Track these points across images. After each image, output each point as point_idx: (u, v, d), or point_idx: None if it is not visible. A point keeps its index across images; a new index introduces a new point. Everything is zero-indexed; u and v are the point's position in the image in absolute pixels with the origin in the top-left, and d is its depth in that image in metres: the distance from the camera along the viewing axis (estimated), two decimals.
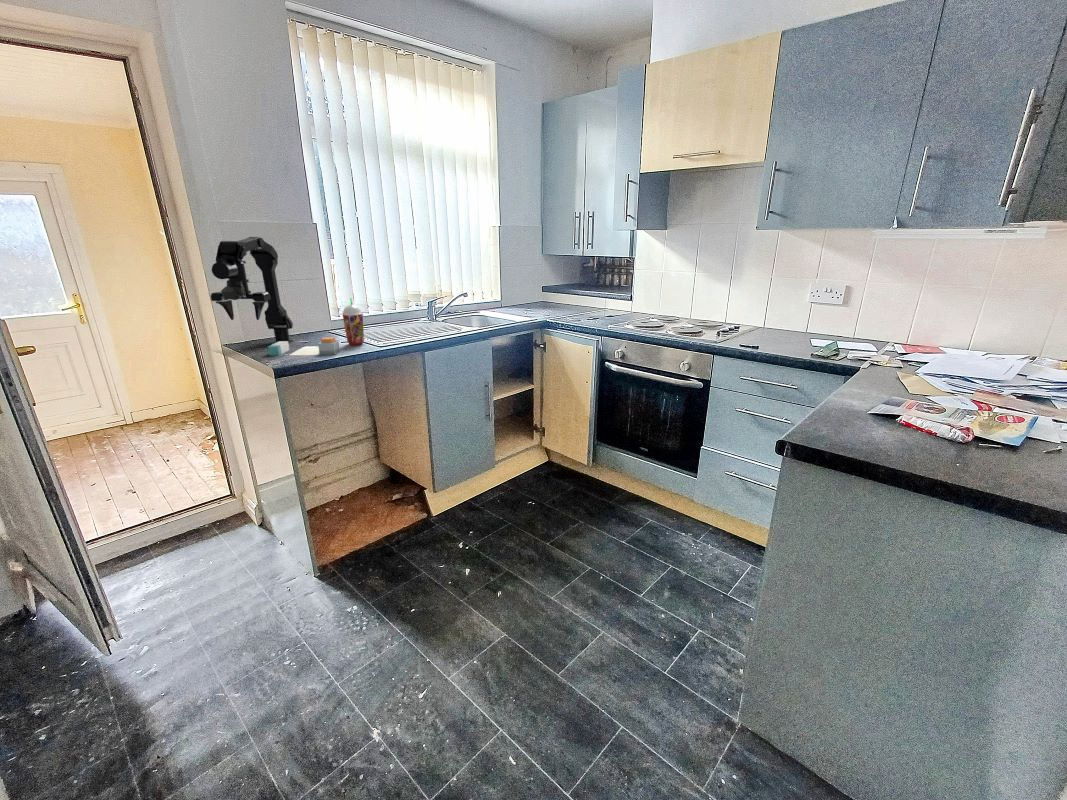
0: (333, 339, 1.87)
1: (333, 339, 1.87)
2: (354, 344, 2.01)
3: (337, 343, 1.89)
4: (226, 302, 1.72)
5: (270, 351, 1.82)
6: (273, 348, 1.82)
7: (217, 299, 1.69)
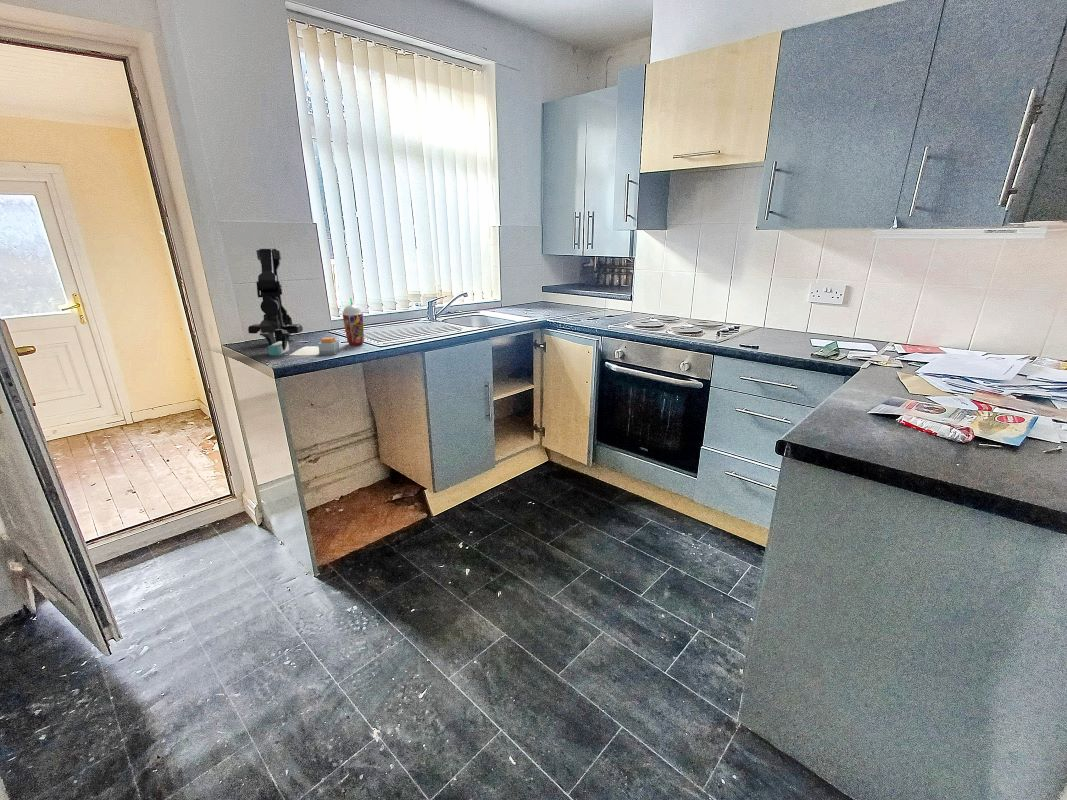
0: (333, 339, 1.87)
1: (333, 339, 1.87)
2: (354, 344, 2.01)
3: (337, 343, 1.89)
4: (269, 334, 1.84)
5: (270, 351, 1.82)
6: (273, 348, 1.82)
7: (254, 332, 1.81)
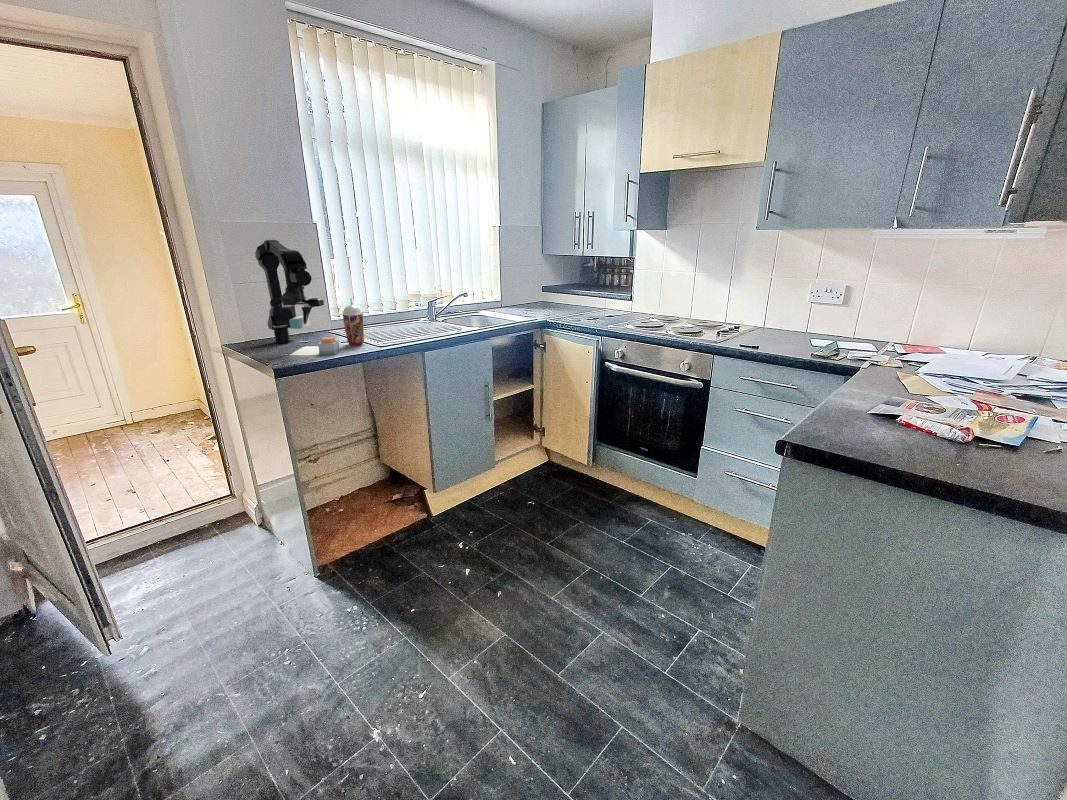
0: (333, 339, 1.87)
1: (333, 339, 1.87)
2: (354, 344, 2.01)
3: (337, 343, 1.89)
4: (290, 307, 1.84)
5: (291, 324, 1.82)
6: (294, 321, 1.81)
7: (276, 305, 1.81)
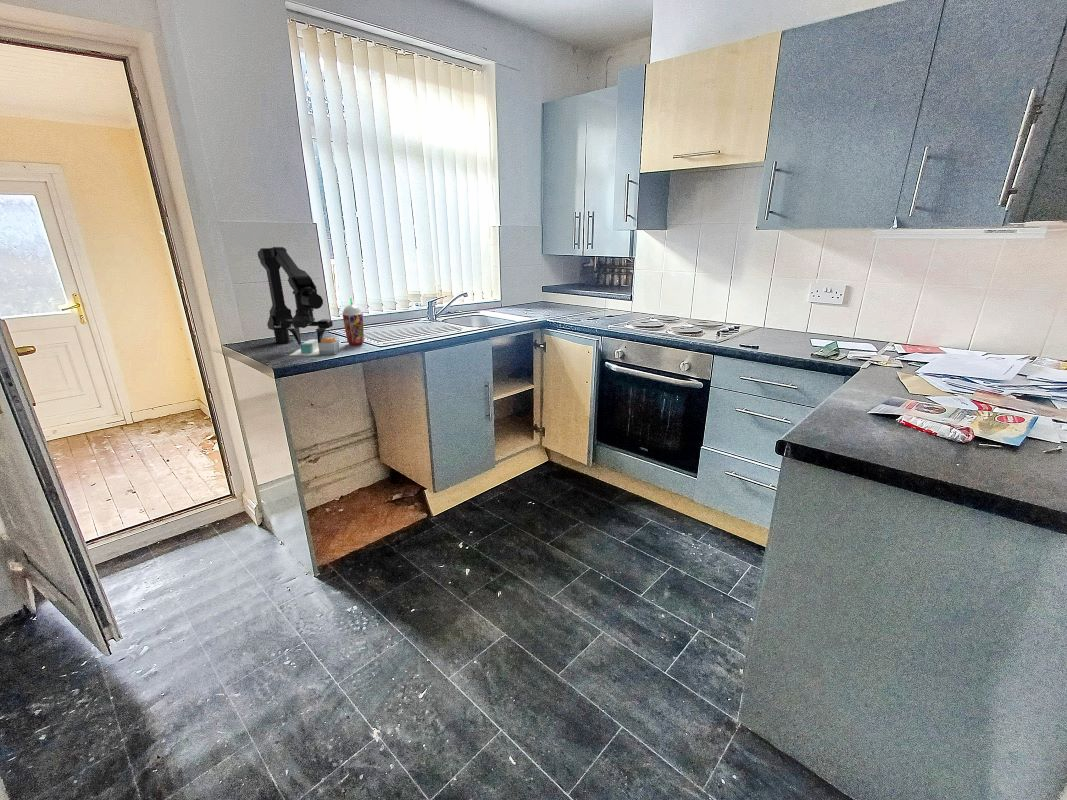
0: (333, 339, 1.87)
1: (333, 339, 1.87)
2: (354, 344, 2.01)
3: (337, 343, 1.89)
4: (295, 329, 1.87)
5: (302, 349, 1.86)
6: (305, 346, 1.86)
7: (286, 326, 1.85)
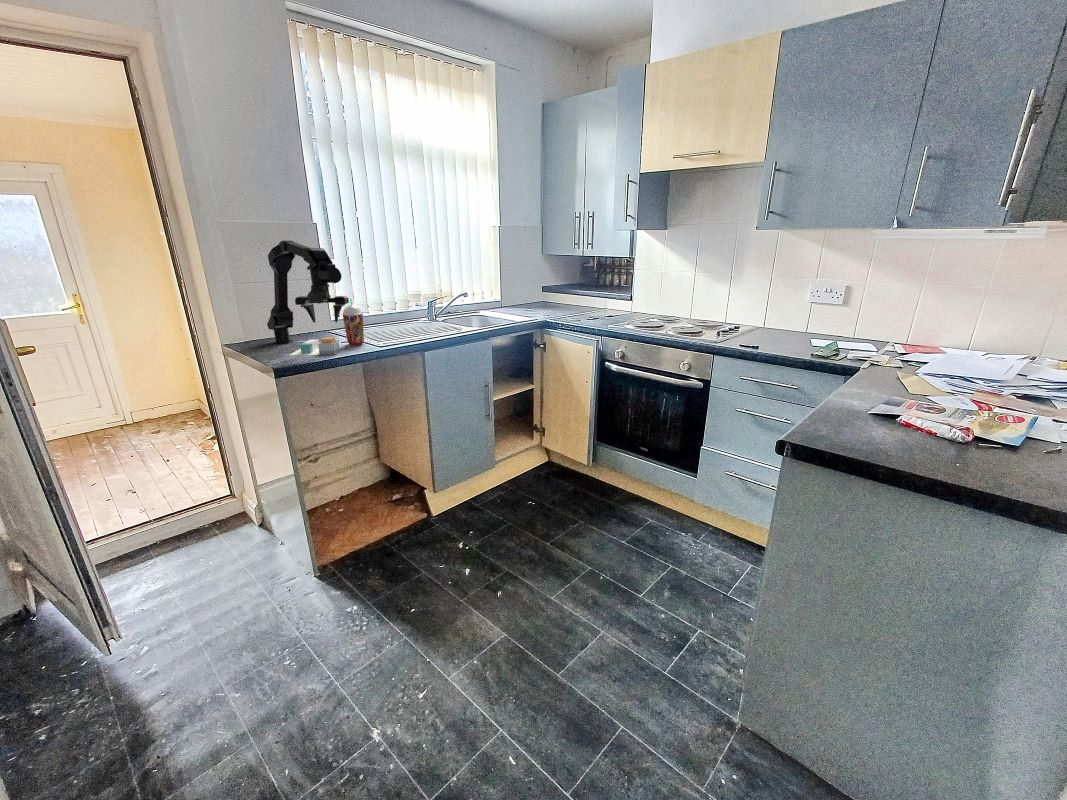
0: (333, 339, 1.87)
1: (333, 339, 1.87)
2: (354, 344, 2.01)
3: (337, 343, 1.89)
4: (309, 306, 1.81)
5: (302, 349, 1.86)
6: (305, 346, 1.86)
7: (301, 303, 1.78)
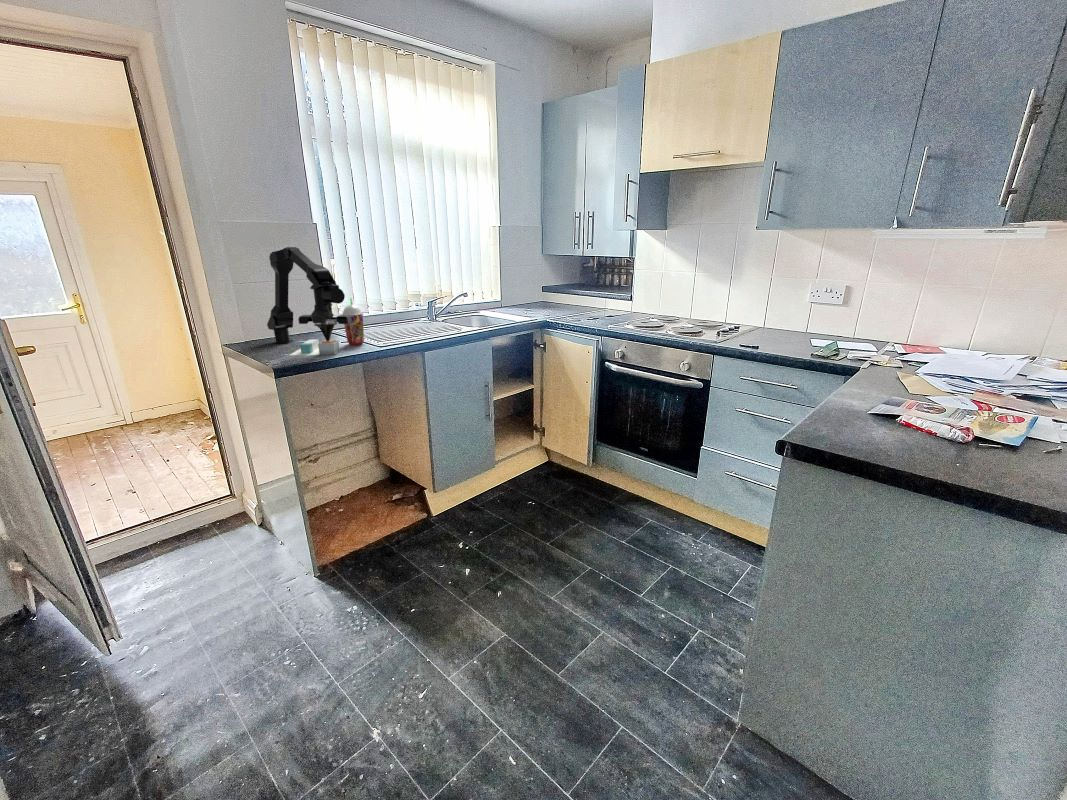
0: (333, 341, 1.87)
1: (334, 341, 1.88)
2: (354, 344, 2.01)
3: (337, 343, 1.89)
4: (323, 324, 1.84)
5: (302, 349, 1.86)
6: (305, 346, 1.86)
7: (304, 322, 1.81)
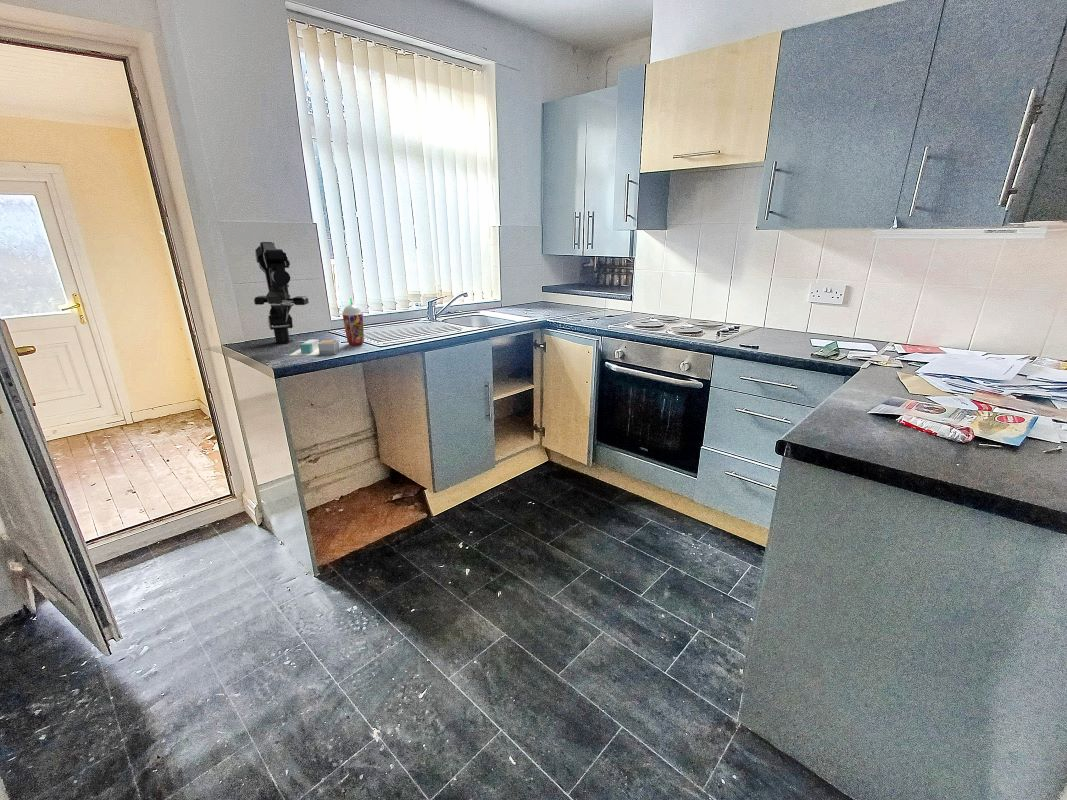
0: (333, 342, 1.88)
1: None
2: (354, 344, 2.01)
3: (337, 343, 1.89)
4: (279, 306, 1.85)
5: (302, 349, 1.86)
6: (305, 346, 1.86)
7: (260, 303, 1.82)
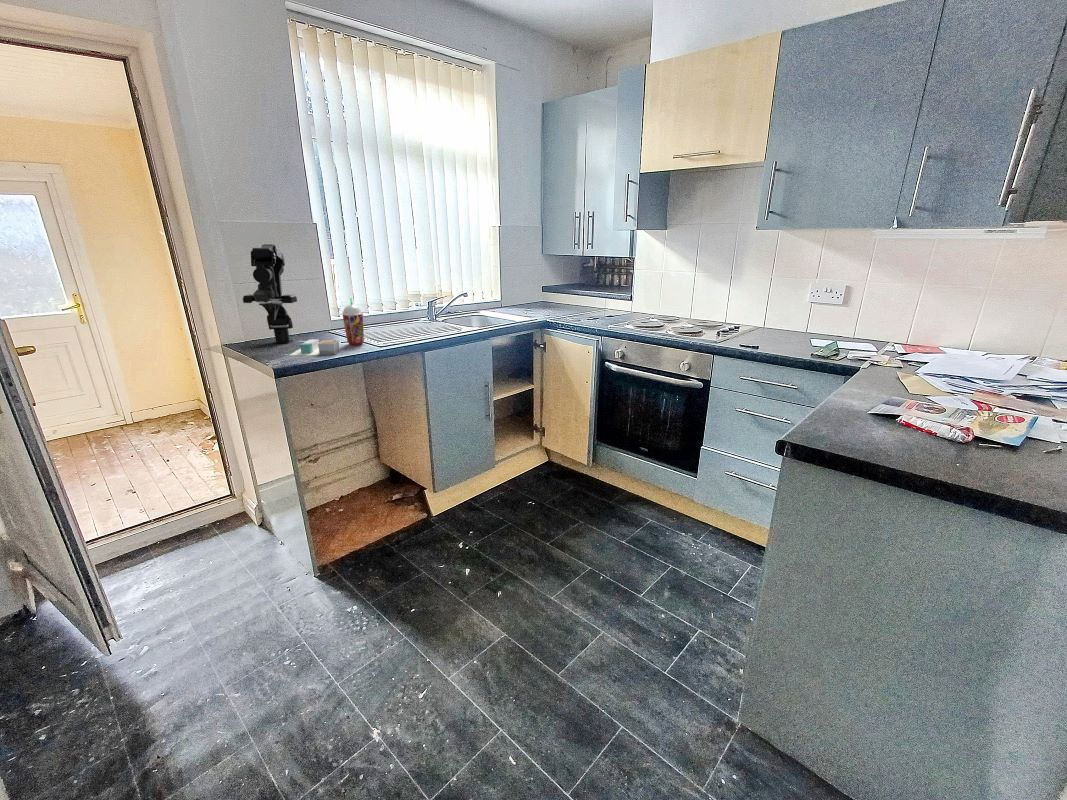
0: (333, 342, 1.88)
1: None
2: (354, 344, 2.01)
3: (337, 343, 1.89)
4: (268, 304, 1.86)
5: (302, 349, 1.86)
6: (305, 346, 1.86)
7: (249, 301, 1.83)
